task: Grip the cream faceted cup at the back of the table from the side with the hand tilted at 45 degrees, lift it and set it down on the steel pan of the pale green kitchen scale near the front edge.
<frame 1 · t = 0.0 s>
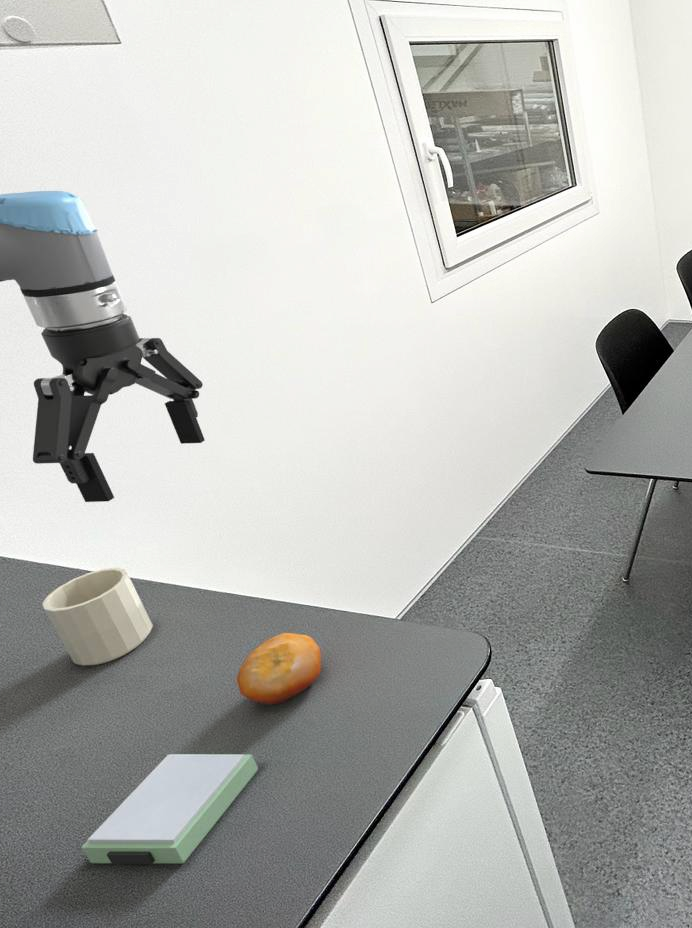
hand: (150, 469, 83), 24 cm above the table, tool pointing down, fingers open, 13 cm apart
cream faceted cup: (115, 644, 86), on the table
fruit: (289, 689, 80), on the table
scale: (180, 813, 66), on the table
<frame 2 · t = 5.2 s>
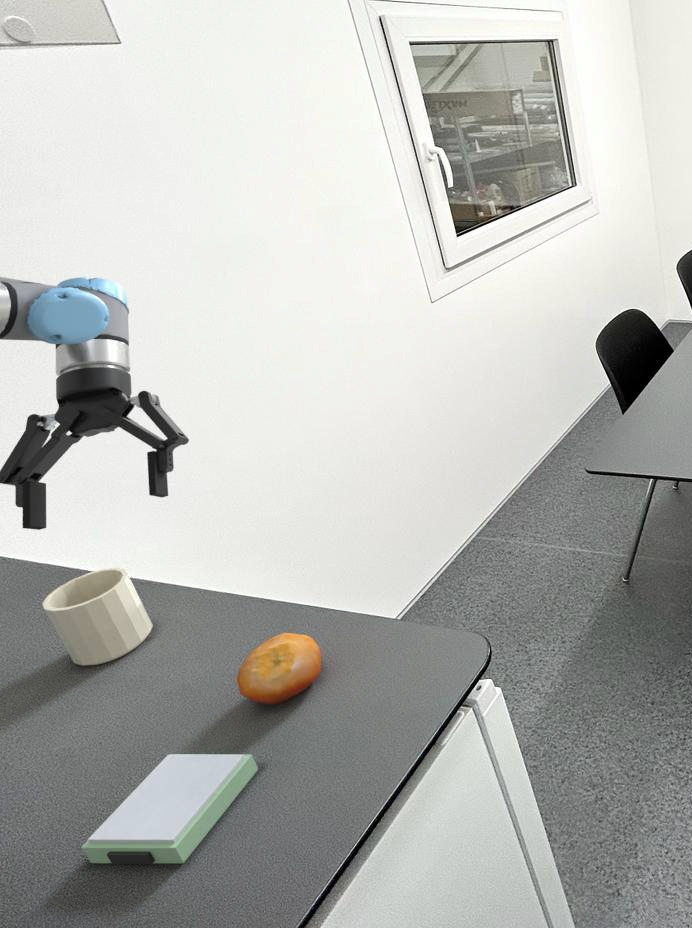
hand: (98, 511, 88), 15 cm above the table, tool tilted 45°, fingers open, 13 cm apart
nothing on the table moved.
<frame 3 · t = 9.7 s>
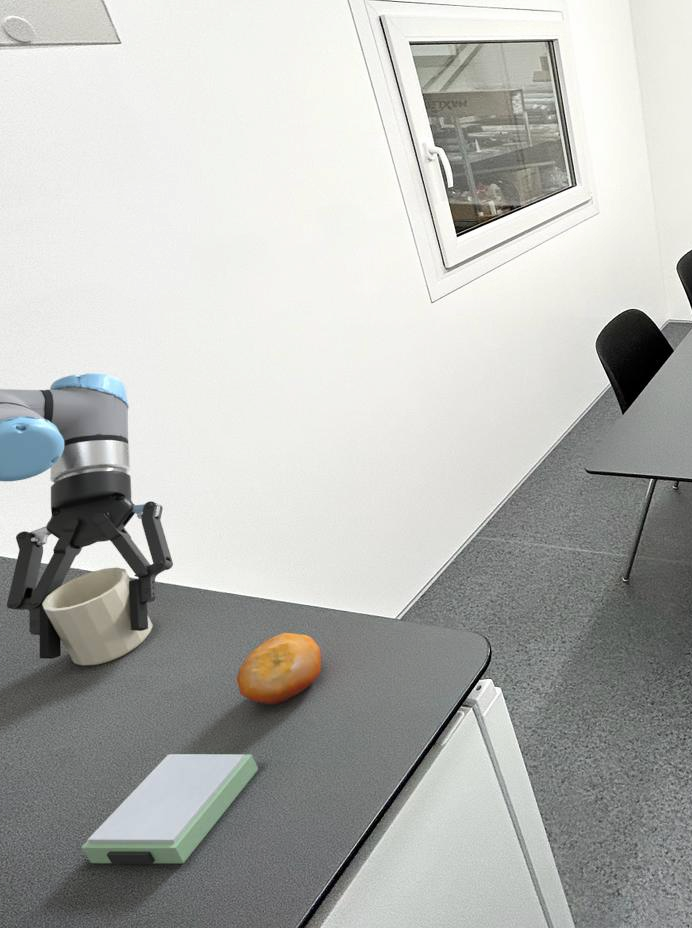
hand: (96, 642, 82), 4 cm above the table, tool tilted 45°, fingers closed on cream faceted cup, 8 cm apart
cream faceted cup: (115, 644, 86), on the table, touching gripper
everything else where it was.
when the fingers open (7 cm above the table, at t = 19.7 s): cream faceted cup stays where it is, resting on scale.
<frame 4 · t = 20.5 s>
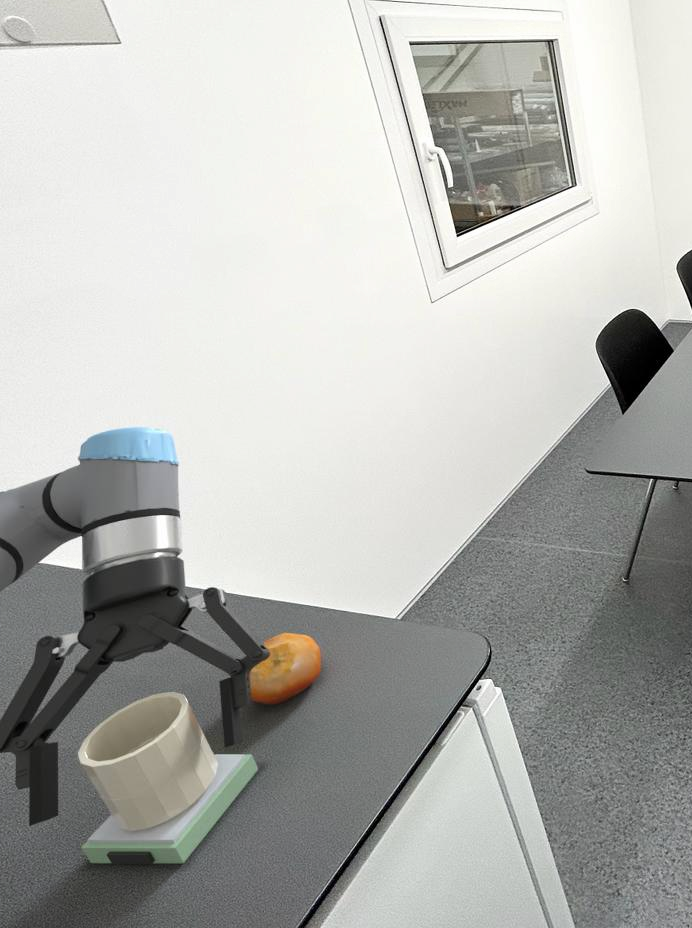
hand: (144, 781, 61), 8 cm above the table, tool tilted 45°, fingers open, 13 cm apart
cream faceted cup: (171, 793, 65), point 3 cm above the table, touching scale
everything else where it was.
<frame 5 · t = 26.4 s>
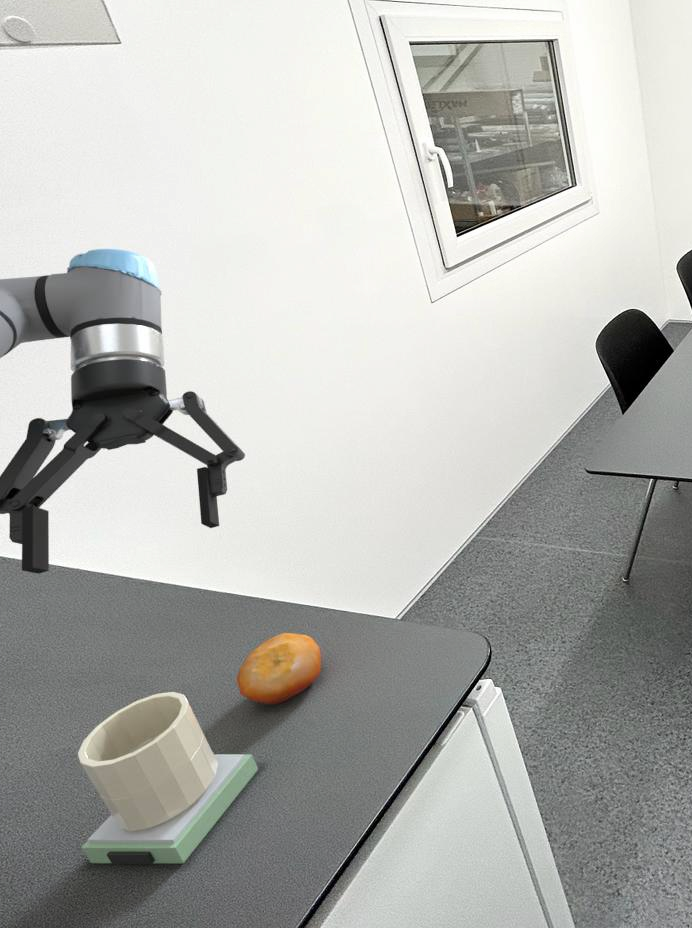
hand: (127, 547, 67), 26 cm above the table, tool tilted 45°, fingers open, 13 cm apart
nothing on the table moved.
at the end: cream faceted cup inside the target area on the scale (0.1 cm from its centre), point 3.0 cm above the scale's base; cream faceted cup tilted 0°; the gripper is holding nothing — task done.
